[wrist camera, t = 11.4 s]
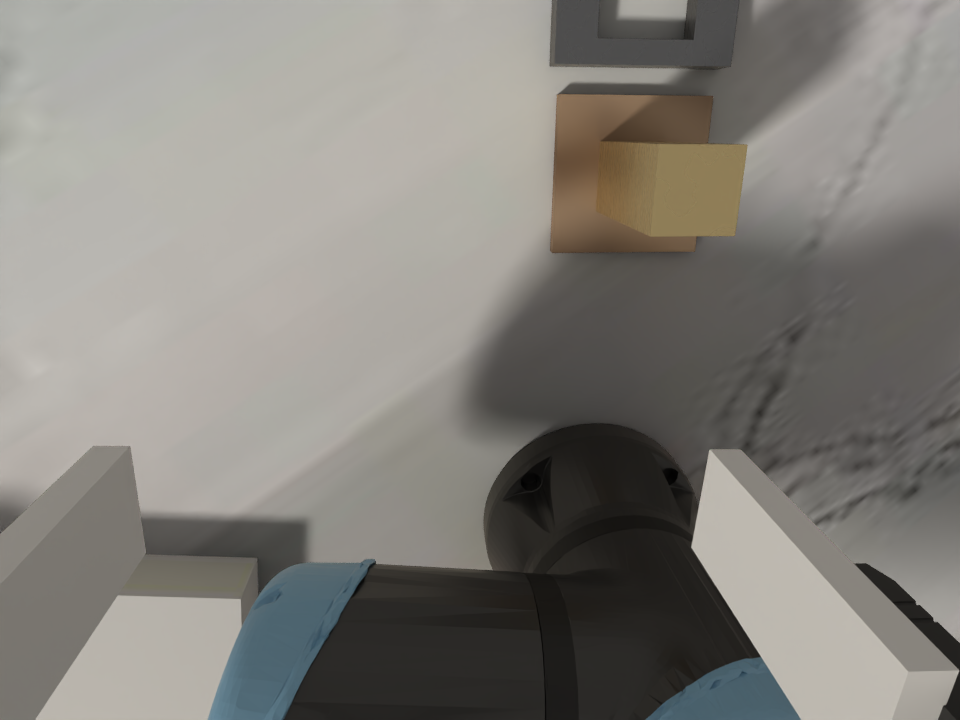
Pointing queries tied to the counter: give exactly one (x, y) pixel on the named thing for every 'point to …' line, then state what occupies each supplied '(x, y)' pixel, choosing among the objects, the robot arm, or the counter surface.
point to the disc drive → (160, 642)
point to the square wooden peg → (671, 186)
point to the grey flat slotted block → (700, 48)
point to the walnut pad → (578, 164)
